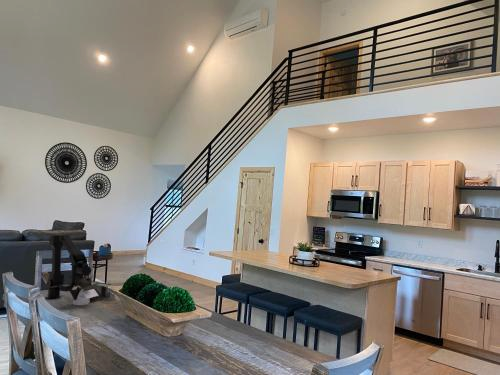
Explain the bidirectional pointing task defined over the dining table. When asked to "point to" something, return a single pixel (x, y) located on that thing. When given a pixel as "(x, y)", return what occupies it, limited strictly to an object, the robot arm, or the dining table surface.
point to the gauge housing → (104, 292)
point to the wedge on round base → (85, 297)
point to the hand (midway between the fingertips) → (75, 300)
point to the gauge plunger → (96, 288)
